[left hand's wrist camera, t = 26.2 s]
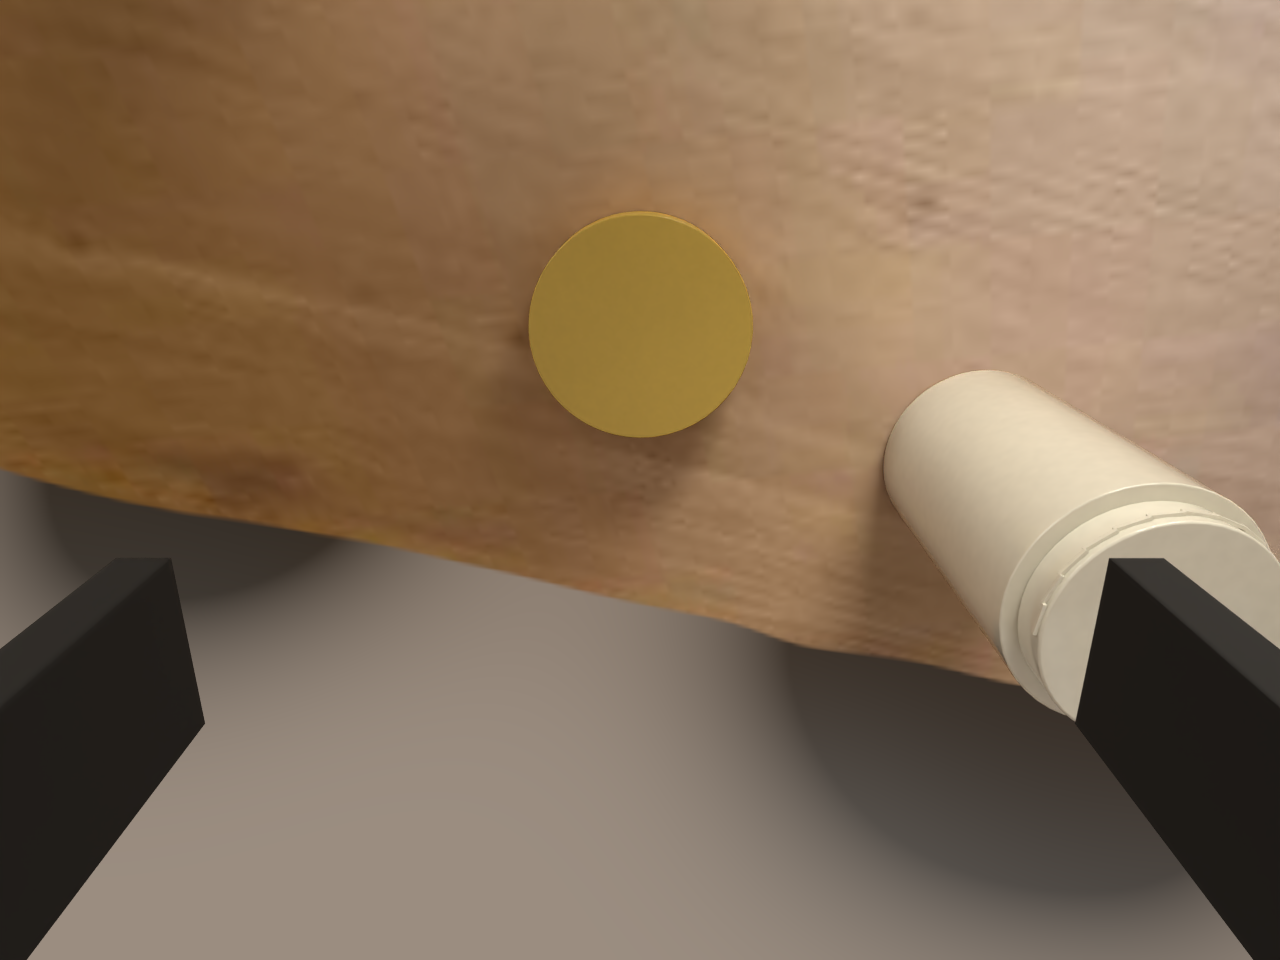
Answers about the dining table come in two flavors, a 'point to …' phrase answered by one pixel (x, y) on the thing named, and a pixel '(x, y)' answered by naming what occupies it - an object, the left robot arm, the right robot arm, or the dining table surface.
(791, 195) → the dining table surface
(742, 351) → the lid
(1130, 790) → the left robot arm
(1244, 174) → the dining table surface
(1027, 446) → the jar
